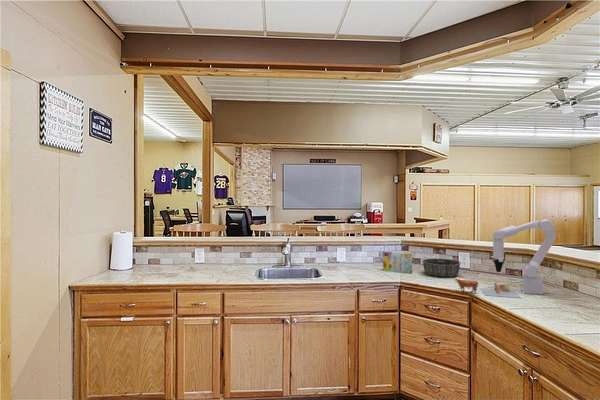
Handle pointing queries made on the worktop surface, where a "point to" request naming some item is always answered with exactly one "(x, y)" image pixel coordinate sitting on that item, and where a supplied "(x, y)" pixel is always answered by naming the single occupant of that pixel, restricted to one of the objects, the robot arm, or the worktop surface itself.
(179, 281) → the worktop surface
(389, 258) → the snack box
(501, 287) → the fence fixed
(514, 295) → the card
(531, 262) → the robot arm
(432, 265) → the dark grey woven basket
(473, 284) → the bull figurine
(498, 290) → the fence hinged
